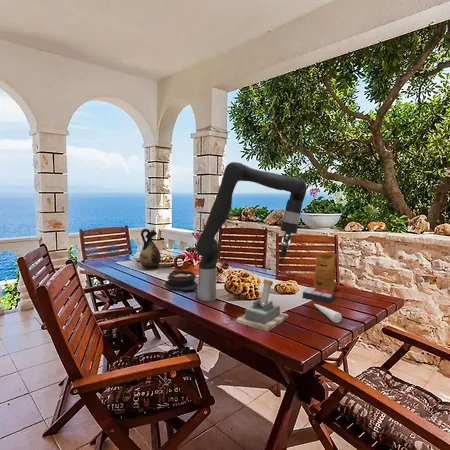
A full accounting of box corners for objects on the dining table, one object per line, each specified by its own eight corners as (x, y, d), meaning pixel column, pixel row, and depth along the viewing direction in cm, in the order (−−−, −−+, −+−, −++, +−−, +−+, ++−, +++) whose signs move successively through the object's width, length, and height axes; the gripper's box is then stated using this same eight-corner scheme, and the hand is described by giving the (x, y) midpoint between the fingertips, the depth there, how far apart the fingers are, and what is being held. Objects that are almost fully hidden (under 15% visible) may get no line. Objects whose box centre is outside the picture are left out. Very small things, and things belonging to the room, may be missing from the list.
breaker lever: (260, 306, 148) (266, 280, 151) (267, 308, 146) (273, 281, 149) (257, 305, 146) (263, 279, 149) (264, 307, 144) (271, 280, 147)
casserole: (157, 285, 198) (157, 272, 197) (181, 280, 211) (181, 267, 210) (181, 295, 180) (181, 280, 180) (207, 288, 193) (207, 274, 192)
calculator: (330, 297, 169) (302, 291, 176) (330, 305, 169) (302, 298, 177) (335, 291, 178) (308, 285, 186) (334, 299, 179) (308, 293, 186)
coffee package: (315, 286, 200) (316, 250, 197) (336, 289, 194) (338, 252, 191) (311, 290, 191) (312, 253, 189) (332, 293, 185) (334, 255, 183)
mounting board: (258, 309, 159) (258, 306, 159) (288, 317, 150) (288, 314, 150) (236, 322, 144) (236, 318, 144) (267, 331, 135) (267, 328, 134)
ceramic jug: (154, 265, 252) (154, 227, 249) (164, 269, 240) (164, 228, 237) (134, 268, 241) (133, 228, 238) (143, 272, 229) (142, 230, 226)
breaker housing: (261, 309, 155) (261, 295, 155) (279, 314, 149) (280, 299, 149) (245, 318, 144) (245, 303, 143) (264, 324, 138) (264, 308, 138)
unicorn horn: (320, 304, 168) (321, 295, 167) (342, 323, 144) (342, 313, 144) (312, 304, 167) (312, 295, 167) (332, 323, 144) (332, 313, 143)
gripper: (283, 220, 157) (276, 253, 158) (281, 220, 143) (273, 256, 144) (298, 223, 155) (291, 256, 156) (298, 223, 141) (290, 259, 142)
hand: (283, 256), depth 150 cm, fingers open, 8 cm apart
